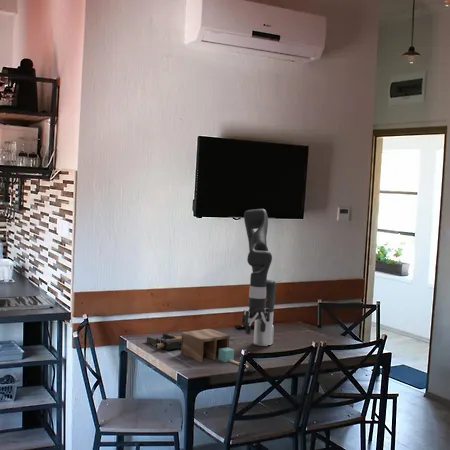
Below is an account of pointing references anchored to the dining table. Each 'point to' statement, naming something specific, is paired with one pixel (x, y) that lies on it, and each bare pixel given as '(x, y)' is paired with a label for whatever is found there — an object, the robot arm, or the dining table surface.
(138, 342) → the dining table surface
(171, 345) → the submachine gun
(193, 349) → the shelf
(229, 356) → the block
